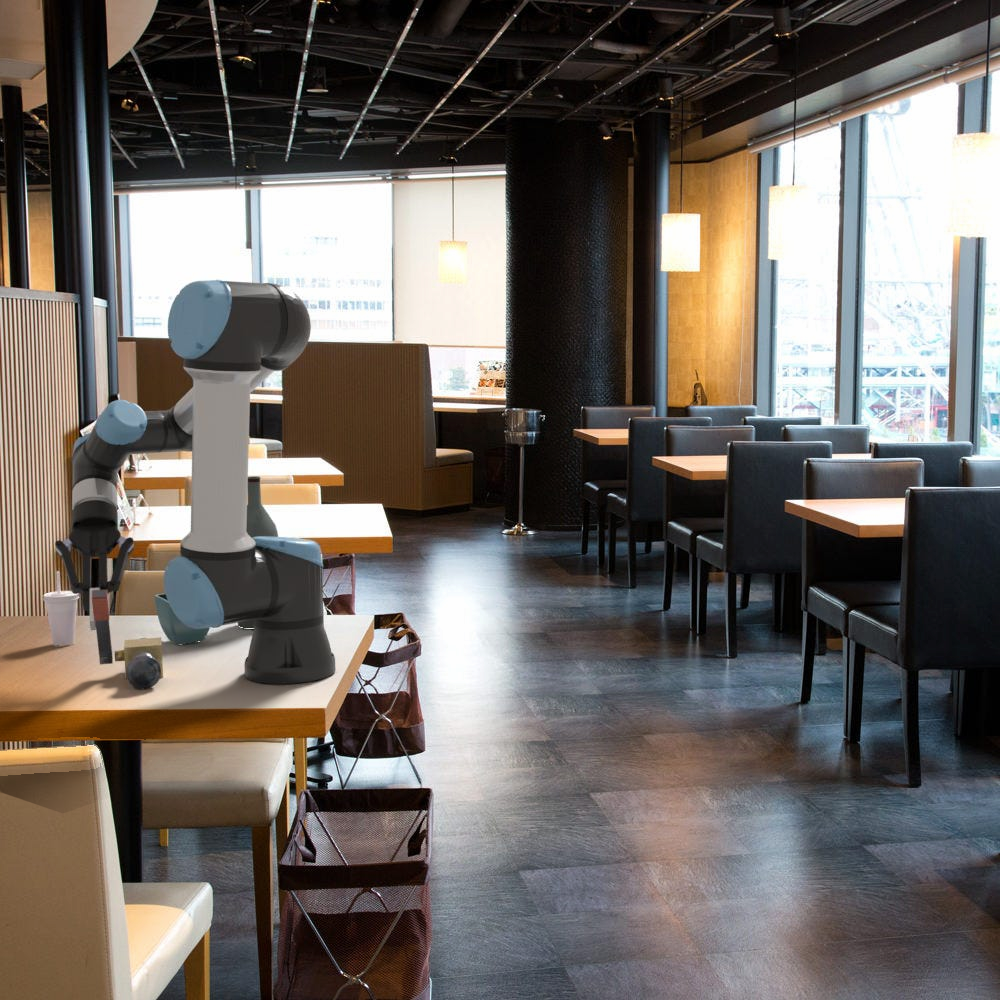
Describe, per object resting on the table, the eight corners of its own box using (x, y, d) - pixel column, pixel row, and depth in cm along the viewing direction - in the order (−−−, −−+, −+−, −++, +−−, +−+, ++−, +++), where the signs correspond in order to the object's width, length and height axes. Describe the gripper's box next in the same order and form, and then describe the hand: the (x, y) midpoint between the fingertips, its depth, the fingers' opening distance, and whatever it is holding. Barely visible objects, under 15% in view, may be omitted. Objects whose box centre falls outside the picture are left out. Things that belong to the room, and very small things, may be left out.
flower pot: (170, 649, 221) (168, 601, 220) (155, 640, 228) (153, 594, 227) (216, 643, 226) (214, 596, 225) (200, 634, 233) (198, 589, 232)
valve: (116, 670, 205) (114, 639, 205) (162, 667, 208) (161, 636, 207) (114, 691, 192) (112, 658, 191) (163, 687, 194) (162, 654, 194)
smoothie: (38, 646, 224) (34, 573, 223) (61, 639, 230) (57, 567, 229) (66, 649, 222) (62, 574, 221) (88, 641, 228) (85, 568, 227)
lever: (99, 655, 202) (91, 587, 188) (113, 654, 203) (107, 586, 189) (99, 667, 201) (91, 600, 186) (113, 666, 201) (107, 599, 187)
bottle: (227, 625, 241) (221, 477, 238) (267, 619, 247) (262, 474, 244) (249, 633, 234) (244, 480, 231) (290, 626, 240) (285, 476, 237)
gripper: (135, 522, 214) (138, 634, 200) (57, 525, 210) (54, 640, 196) (133, 496, 208) (136, 610, 194) (53, 499, 204) (50, 615, 191)
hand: (95, 625), depth 195 cm, fingers closed
